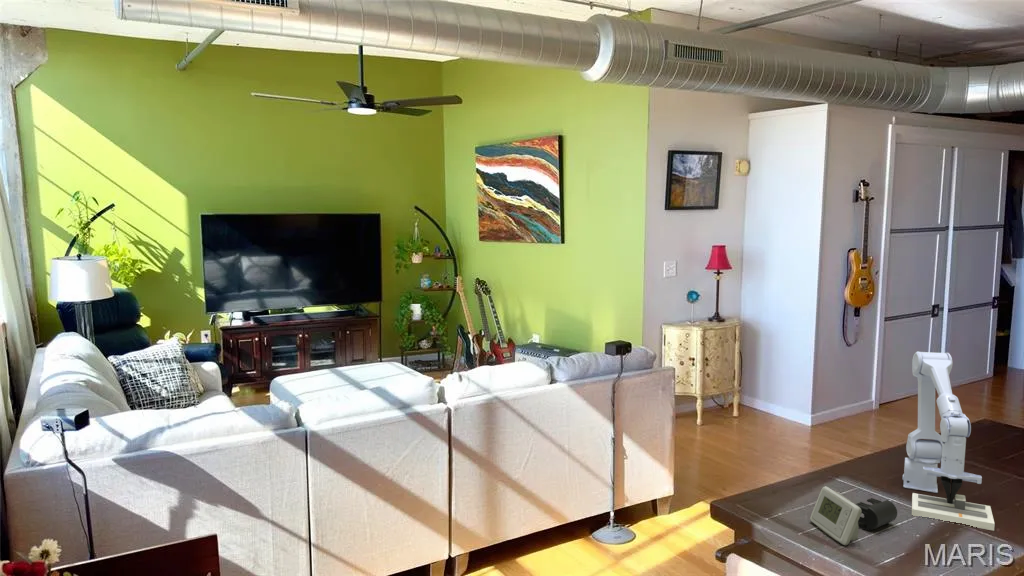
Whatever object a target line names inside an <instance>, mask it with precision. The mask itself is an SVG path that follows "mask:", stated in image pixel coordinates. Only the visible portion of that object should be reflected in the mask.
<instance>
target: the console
mask: <svg viewBox="0 0 1024 576" xmlns="http://www.w3.org/2000/svg"><path fill="white" fill-rule="evenodd" d="M954 503H955V499H954V500H953V504H949V503H947V498H945V497H938V496H934V495H933V496H932V495H927V494H920V493H915V492H912V495H911V516H912V515H913V517H916V516H922V517H929V518H935V519H940V520H943V521H942V522H944V521H950V522H956V523H962V524H966V525H970V526H969V527H971V526H973V528H976V527H977V528H978V529H982V530H988V531H993V532H994V531H995V526H996V525H995V520H994V516H993V512H992V511H993V510H992V508H991V507H992V506H991V505H986V504H979V503H974V502H970V501H969V502H968V501H966V502H965V510H960V509H955V506H954ZM922 517H921V518H922Z"/></svg>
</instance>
